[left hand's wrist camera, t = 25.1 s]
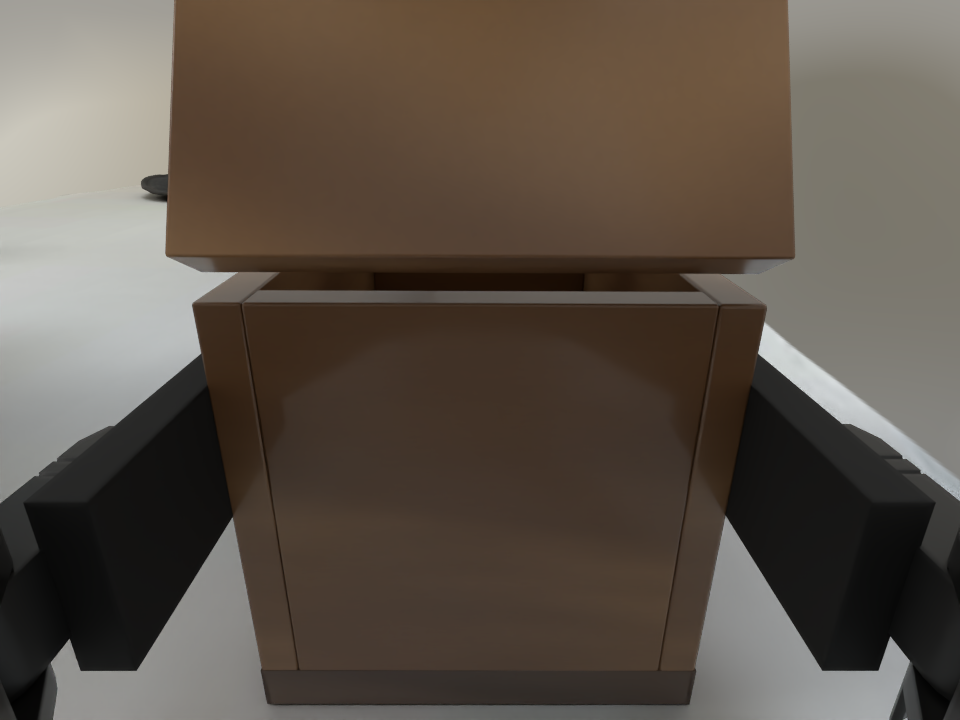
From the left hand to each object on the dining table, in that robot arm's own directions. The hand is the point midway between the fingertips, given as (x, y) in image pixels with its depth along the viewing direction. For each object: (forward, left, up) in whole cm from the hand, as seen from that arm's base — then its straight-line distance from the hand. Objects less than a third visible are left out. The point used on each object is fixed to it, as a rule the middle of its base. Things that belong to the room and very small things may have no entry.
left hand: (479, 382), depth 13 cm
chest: (+3, +1, -6) cm, 7 cm away
